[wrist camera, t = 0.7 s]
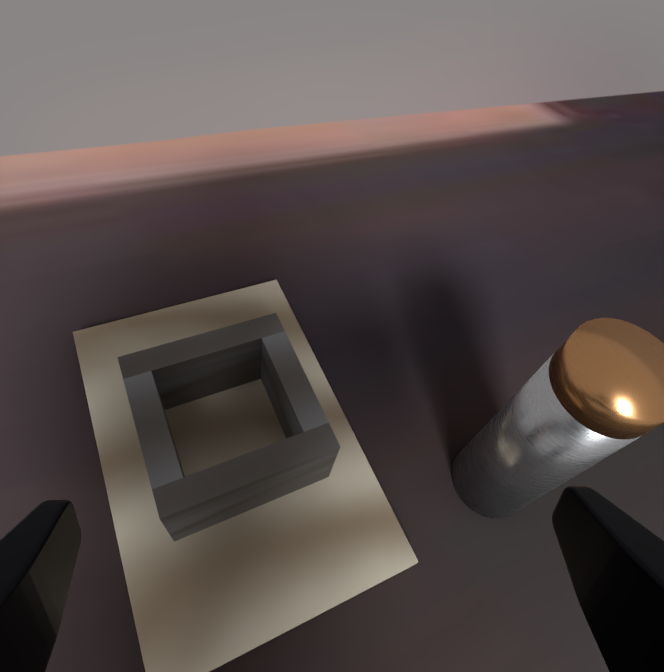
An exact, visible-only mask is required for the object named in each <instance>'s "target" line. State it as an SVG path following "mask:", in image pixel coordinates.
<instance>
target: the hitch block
mask: <svg viewBox="0 0 664 672" xmlns="http://www.w3.org/2000/svg"><path fill="white" fill-rule="evenodd" d="M73 335H74V340H75V345H76V349H77V354H78V359H79V364H80V368H81V373H82V378H83V382H84V387H85V392H86V396H87V401H88V406H89V410H90V415H91V420H92V424H93V429H94V434H95V438H96V443H97V448H98V452H99V457H100V462H101V466H102V471H103V476H104V480H105V485H106V490H107V494H108V499H109V504H110V508H111V513H112V518H113V522H114V527H115V532H116V537H117V541H118V546H119V551H120V555H121V560H122V565H123V569H124V574H125V579H126V583H127V588H128V593H129V597H130V602H131V607H132V611H133V616H134V621H135V625H136V630H137V635H138V639H139V644H140V649H141V653H142V658H143V663H144V667H145V672H211V671H213V670H214V669H216V668H218V667H220V666H222V665H224V664H226V663H228V662H230V661H232V660H234V659H236V658H237V657H239V656H241V655H243V654H245V653H247V652H249V651H251V650H253V649H255V648H257V647H258V646H260V645H262V644H264V643H266V642H268V641H270V640H272V639H274V638H276V637H278V636H280V635H281V634H283V633H285V632H287V631H289V630H291V629H293V628H295V627H297V626H299V625H301V624H302V623H304V622H306V621H308V620H310V619H312V618H314V617H316V616H318V615H320V614H322V613H324V612H325V611H327V610H329V609H331V608H333V607H335V606H337V605H339V604H341V603H343V602H345V601H347V600H348V599H350V598H352V597H354V596H356V595H358V594H360V593H362V592H364V591H366V590H368V589H369V588H371V587H373V586H375V585H377V584H379V583H381V582H383V581H385V580H387V579H389V578H391V577H392V576H394V575H396V574H398V573H400V572H402V571H404V570H406V569H408V568H410V567H412V566H413V565H415V564H416V563H418V560H417V558H416V556H415V554H414V552H413V550H412V548H411V546H410V544H409V542H408V540H407V538H406V536H405V534H404V532H403V530H402V528H401V526H400V524H399V522H398V520H397V518H396V516H395V514H394V512H393V510H392V508H391V506H390V504H389V502H388V500H387V498H386V496H385V494H384V492H383V490H382V488H381V486H380V484H379V482H378V480H377V478H376V476H375V474H374V472H373V470H372V468H371V466H370V464H369V462H368V460H367V458H366V456H365V455H364V453H363V451H362V449H361V447H360V445H359V443H358V441H357V439H356V437H355V435H354V433H353V431H352V429H351V427H350V425H349V423H348V421H347V419H346V417H345V415H344V413H343V411H342V409H341V407H340V405H339V403H338V401H337V399H336V397H335V395H334V393H333V391H332V389H331V387H330V385H329V383H328V381H327V379H326V377H325V375H324V373H323V371H322V369H321V367H320V365H319V363H318V361H317V359H316V357H315V355H314V353H313V351H312V349H311V347H310V345H309V343H308V341H307V339H306V337H305V335H304V333H303V331H302V329H301V327H300V325H299V323H298V321H297V319H296V317H295V315H294V313H293V311H292V309H291V307H290V305H289V303H288V301H287V299H286V297H285V295H284V294H283V292H282V290H281V288H280V286H279V284H278V282H277V280H273V281H269V282H265V283H261V284H258V285H254V286H250V287H246V288H242V289H238V290H234V291H230V292H226V293H222V294H219V295H215V296H211V297H207V298H203V299H199V300H195V301H191V302H187V303H183V304H180V305H176V306H172V307H168V308H164V309H160V310H156V311H152V312H148V313H144V314H141V315H137V316H133V317H129V318H125V319H121V320H117V321H113V322H109V323H105V324H102V325H98V326H94V327H90V328H86V329H82V330H78V331H74V332H73Z"/></svg>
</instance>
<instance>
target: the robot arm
mask: <svg viewBox="0 0 664 672" xmlns="http://www.w3.org/2000/svg"><path fill="white" fill-rule="evenodd" d="M552 523H553V527H554V530H555V533H556V536H557V539H558V542H559V545H560V548H561V551H562V554H563V557H564V560H565V563H566V566H567V569H568V572H569V575H570V578H571V581H572V583H573V586H574V589H575V592H576V595H577V598H578V600H579V603H580V606H581V608H582V611H583V613H584V615H585V618H586V620H587V622H588V624H589V627H590V629H591V631H592V633H593V636H594V638H595V640H596V642H597V645H598V647H599V649H600V651H601V653H602V656H603V658H604V660H605V662H606V665H607V667H608V669H609V671H610V672H664V541H663V540H662V539H660V538H659V537H657V536H656V535H655V534H653V533H652V532H651V531H649V530H648V529H647V528H645V527H644V526H643V525H641V524H640V523H638V522H637V521H636V520H634V519H633V518H632V517H630V516H629V515H628V514H626V513H625V512H624V511H622V510H621V509H619V508H618V507H617V506H615V505H614V504H613V503H611V502H610V501H609V500H607V499H606V498H605V497H603V496H602V495H600V494H599V493H598V492H596V491H595V490H594V489H592V488H590V487H588V486H568V487H567V488H565V489H564V491H563V493H562V495H561V497H560V499H559V501H558V503H557V505H556V507H555V510H554V512H553V516H552ZM80 542H81V529H80V526H79V523H78V519H77V516H76V513H75V510H74V507H73V504H72V503H71V502H70V501H69V500H48V501H44V502H43V503H41V504H40V505H38V506H37V507H36V508H35V509H34V510H33V511H32V512H31V513H29V514H28V515H27V516H26V517H25V518H24V519H23V520H22V521H21V522H20V523H18V524H17V525H16V526H15V527H14V528H13V529H12V530H11V531H10V532H8V533H7V534H6V535H5V536H4V537H3V538H2V539H1V540H0V672H45V670H46V667H47V664H48V662H49V659H50V656H51V653H52V650H53V647H54V644H55V641H56V638H57V635H58V631H59V627H60V624H61V620H62V616H63V612H64V608H65V604H66V600H67V596H68V592H69V587H70V583H71V579H72V575H73V571H74V567H75V563H76V559H77V555H78V551H79V547H80Z"/></svg>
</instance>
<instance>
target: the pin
mask: <svg viewBox="0 0 664 672" xmlns="http://www.w3.org/2000/svg"><path fill="white" fill-rule="evenodd" d="M663 423H664V344H663V343H662V342H661V341H660V340H658V339H657V338H656V337H654V336H653V335H652V334H650V333H649V332H647V331H645V330H644V329H642V328H640V327H638V326H636V325H634V324H631V323H629V322H625V321H622V320H618V319H611V318H598V319H593V320H589V321H587V322H585V323H583V324H582V325H581V326H579V328H578V329H577V330H576V331H575V332H574V333H573V334H572V335H571V336H570V337H569V338H568V339H567V340H566V341H565V342H564V343H563V344H562V345H561V346H560V348H559V349H558V350H557V351H556V352H555V353H554V354H553V355H552V356H551V357H550V358H549V359H548V360H547V361H546V362H545V363H544V364H543V365H542V366H541V368H540V369H539V370H538V371H537V372H536V373H535V374H534V375H533V376H532V377H531V378H530V379H529V380H528V381H527V382H526V383H525V384H524V385H523V386H522V388H521V389H520V390H519V391H518V392H517V393H516V394H515V395H514V396H513V397H512V398H511V399H510V400H509V401H508V402H507V403H506V404H505V405H504V406H503V408H502V409H501V410H500V411H499V412H498V413H497V414H496V415H495V416H494V417H493V418H492V419H491V420H490V421H489V422H488V423H487V424H486V425H485V426H484V427H483V429H482V430H481V431H480V432H479V433H478V434H477V435H476V436H475V437H474V438H473V439H472V440H471V441H470V442H469V443H468V444H467V445H466V446H465V447H464V449H463V450H462V451H461V452H460V453H459V454H458V455H457V457H456V458H455V460H454V463H453V467H452V479H453V484H454V487H455V489H456V491H457V493H458V495H459V497H460V498H461V499H462V501H463V502H464V503H465V504H466V505H467V506H468V507H469V508H470V509H472V510H473V511H475V512H476V513H478V514H480V515H482V516H485V517H489V518H503V517H507V516H509V515H511V514H513V513H514V512H516V511H518V510H519V509H521V508H523V507H524V506H526V505H528V504H529V503H531V502H533V501H534V500H536V499H538V498H539V497H541V496H543V495H544V494H546V493H548V492H549V491H551V490H553V489H554V488H556V487H558V486H559V485H561V484H563V483H564V482H566V481H568V480H569V479H571V478H573V477H574V476H576V475H578V474H579V473H581V472H583V471H584V470H586V469H588V468H589V467H591V466H593V465H594V464H596V463H598V462H599V461H601V460H603V459H604V458H606V457H608V456H609V455H611V454H613V453H614V452H616V451H618V450H619V449H621V448H623V447H624V446H626V445H628V444H629V443H631V442H633V441H634V440H636V439H638V438H639V437H641V436H643V435H644V434H646V433H648V432H649V431H651V430H653V429H654V428H656V427H658V426H659V425H661V424H663Z"/></svg>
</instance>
